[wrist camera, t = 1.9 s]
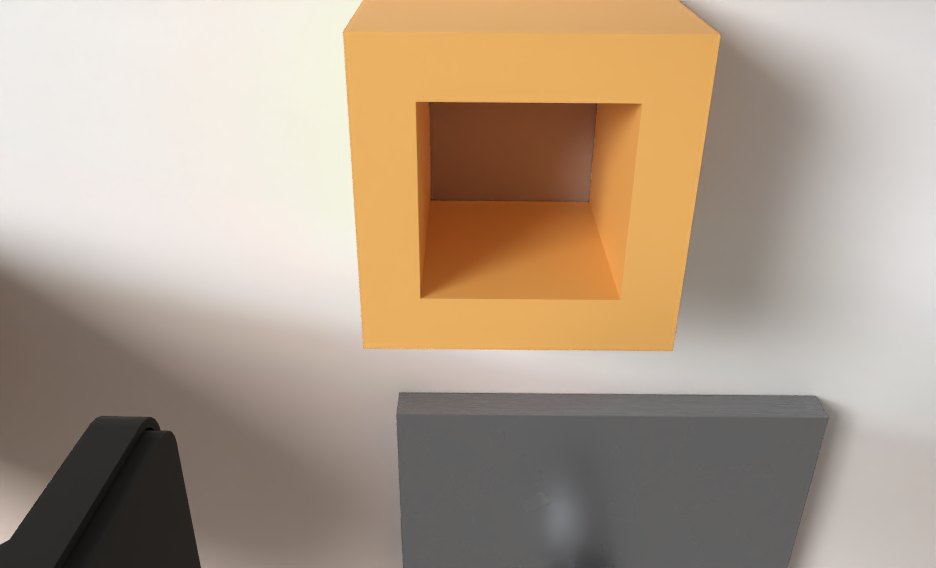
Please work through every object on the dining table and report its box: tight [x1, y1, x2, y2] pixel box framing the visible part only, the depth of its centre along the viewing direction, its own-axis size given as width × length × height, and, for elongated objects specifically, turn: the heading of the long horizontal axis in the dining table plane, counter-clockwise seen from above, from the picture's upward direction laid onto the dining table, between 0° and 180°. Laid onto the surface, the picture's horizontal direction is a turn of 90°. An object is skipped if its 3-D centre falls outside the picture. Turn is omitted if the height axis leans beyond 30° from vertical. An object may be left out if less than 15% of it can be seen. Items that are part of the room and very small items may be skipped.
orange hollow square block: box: [343, 0, 721, 351], centre depth 18 cm, size 6×6×5 cm
